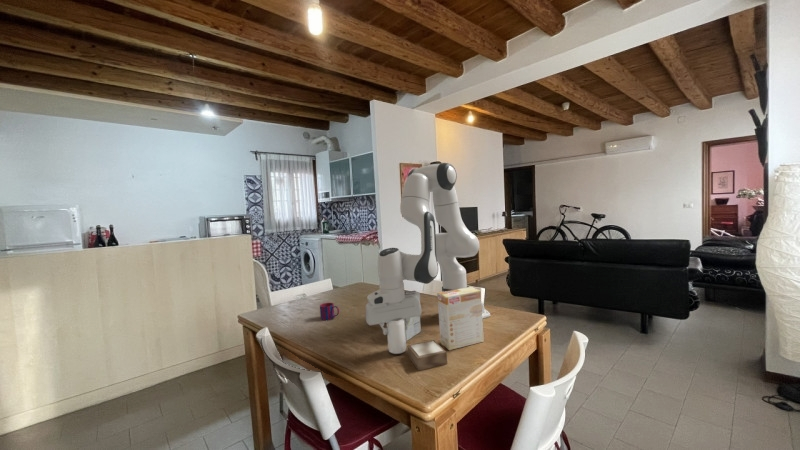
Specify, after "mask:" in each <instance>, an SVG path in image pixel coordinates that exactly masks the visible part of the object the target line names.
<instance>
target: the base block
mask: <svg viewBox="0 0 800 450" xmlns="http://www.w3.org/2000/svg"><path fill="white" fill-rule="evenodd" d="M447 353H448V352H447V351H446V350H445V349H444V348H443V347H442V345H440V344H439V343H438V342H437V341H436V340H428V341H423V342H418V343H414V344H409V345H407V357H408V359H409V360H410V361H411V363H412V364H413V365H414V367H415V368H416V369H417V371H424V370H427V369H432V368H435V367H440V366H444V365H448V354H447Z"/></svg>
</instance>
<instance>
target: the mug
mask: <svg viewBox="0 0 800 450" xmlns="http://www.w3.org/2000/svg"><path fill="white" fill-rule="evenodd" d="M335 308H336V309H337V313H336V314H335ZM319 313H320V314H319V315H320V320H321V321H325V322H326V320H327V321H331V320H334V319H335V317H337V316H339V314H340V308H339V307H338V305H334V303H333V302H324V303H322V304H319Z"/></svg>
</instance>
